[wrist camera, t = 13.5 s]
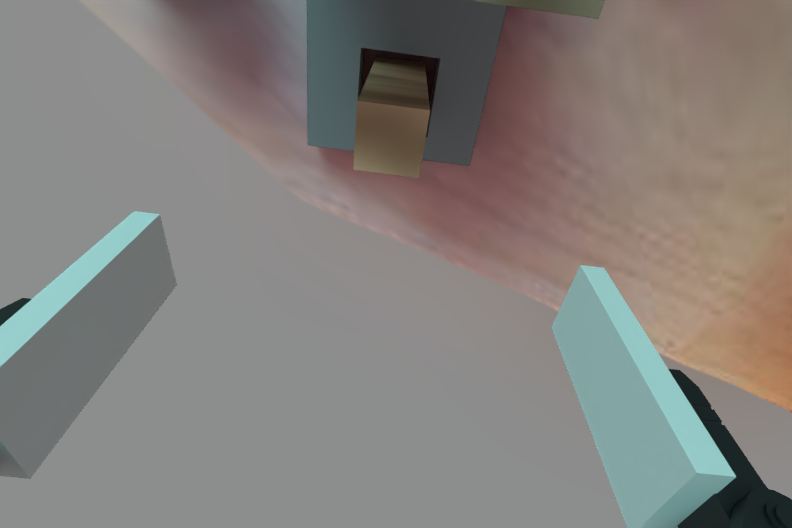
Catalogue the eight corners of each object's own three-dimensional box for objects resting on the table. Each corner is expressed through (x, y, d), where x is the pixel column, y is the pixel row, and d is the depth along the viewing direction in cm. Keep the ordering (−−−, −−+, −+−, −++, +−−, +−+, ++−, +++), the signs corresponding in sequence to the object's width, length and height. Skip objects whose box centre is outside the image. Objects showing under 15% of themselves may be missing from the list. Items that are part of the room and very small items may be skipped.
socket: (507, -32, 30) (515, -32, 28) (466, 153, 38) (469, 165, 36) (315, -60, 30) (306, -62, 27) (314, 133, 38) (307, 145, 35)
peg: (417, 112, 36) (419, 178, 25) (372, 106, 36) (353, 169, 25) (424, 63, 34) (430, 110, 23) (376, 56, 34) (357, 100, 22)
